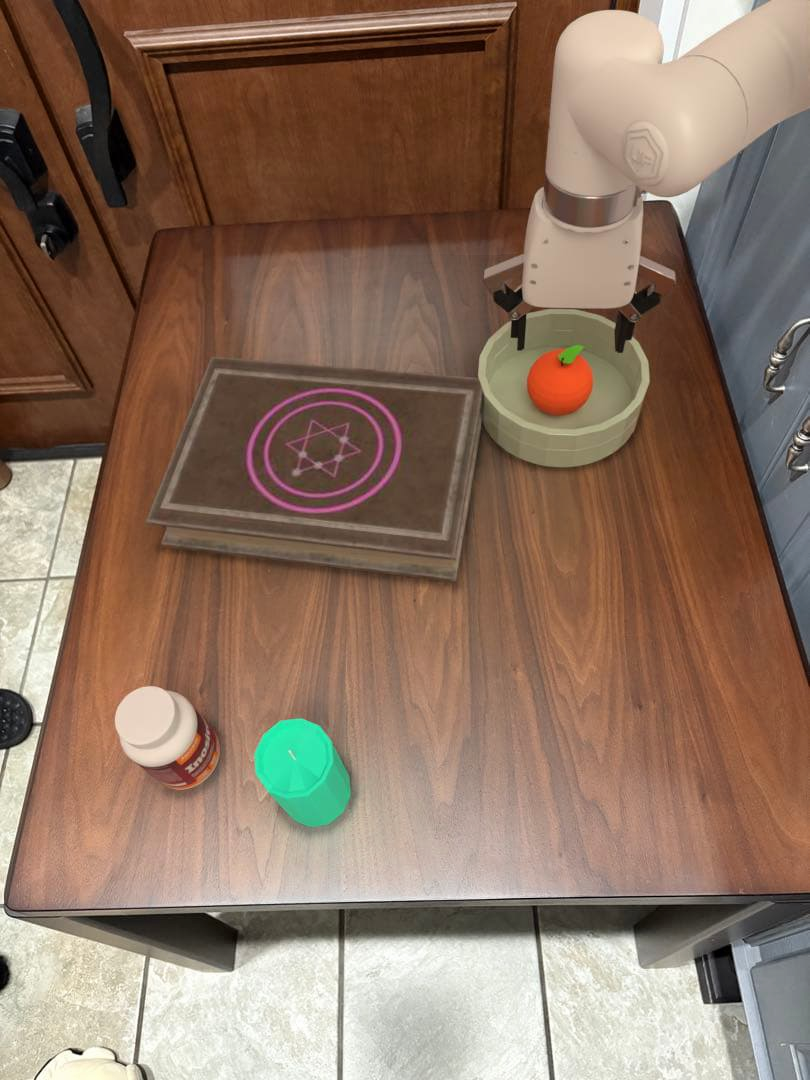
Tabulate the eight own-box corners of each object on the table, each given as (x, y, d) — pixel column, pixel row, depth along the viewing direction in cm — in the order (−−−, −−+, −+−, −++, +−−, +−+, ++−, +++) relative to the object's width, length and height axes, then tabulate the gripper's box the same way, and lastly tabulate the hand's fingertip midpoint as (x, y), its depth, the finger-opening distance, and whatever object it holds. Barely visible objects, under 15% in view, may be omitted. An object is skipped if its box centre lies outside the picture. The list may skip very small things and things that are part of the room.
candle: (272, 773, 69) (238, 731, 58) (336, 744, 70) (314, 698, 59) (295, 839, 66) (263, 807, 56) (361, 809, 67) (342, 772, 56)
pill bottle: (214, 793, 68) (174, 757, 59) (145, 789, 69) (94, 754, 59) (227, 722, 71) (191, 678, 62) (161, 719, 72) (115, 675, 63)
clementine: (554, 365, 90) (560, 318, 84) (606, 393, 87) (617, 346, 81) (512, 409, 87) (515, 363, 81) (565, 439, 84) (572, 394, 78)
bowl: (636, 346, 91) (645, 310, 86) (643, 471, 82) (653, 438, 78) (482, 342, 93) (483, 306, 88) (473, 463, 84) (473, 431, 80)
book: (162, 546, 82) (145, 521, 77) (224, 383, 93) (212, 352, 88) (456, 582, 77) (455, 557, 73) (485, 405, 88) (485, 374, 84)
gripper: (695, 160, 66) (655, 316, 80) (486, 161, 68) (484, 313, 82) (703, 218, 62) (660, 372, 76) (481, 218, 64) (480, 367, 79)
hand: (569, 341), depth 79 cm, fingers open, 9 cm apart
